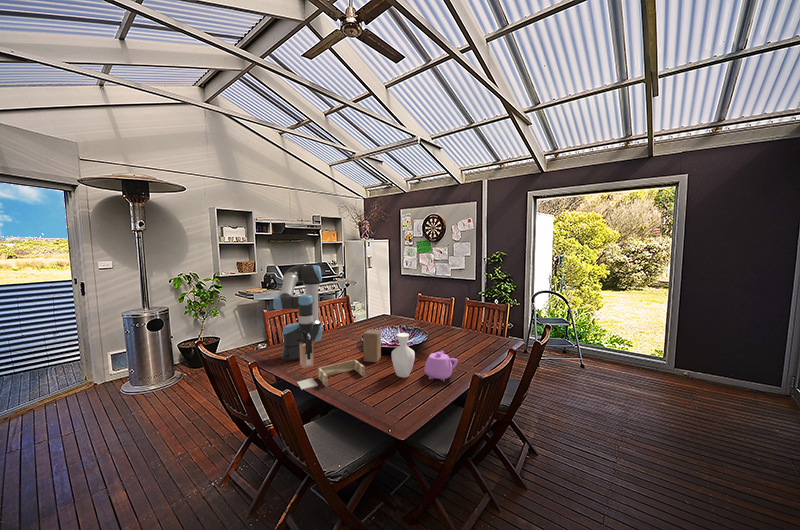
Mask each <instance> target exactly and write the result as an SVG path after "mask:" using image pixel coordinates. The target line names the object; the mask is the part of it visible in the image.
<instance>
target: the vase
mask: <svg viewBox="0 0 800 530" xmlns="http://www.w3.org/2000/svg"><path fill="white" fill-rule="evenodd" d="M396 336H397V339H398V343H399V345H398V346H397V347H395V348H394V349H393V350H392V351H391V361H392V365H393V368H394V372H395V375H396V376H397V377H399V378H408V377H409V376H410V374H411V372H412V370H413V368H414V363H415V356H416V355H415V354H416V353H415V350H413V348H410V347H409V346H408V345H407V344H408V343H409V337H410V334H409V333H407V332H399V333H397V334H396Z"/></svg>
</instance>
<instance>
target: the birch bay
mask: <svg viewBox="0 0 800 530" xmlns="http://www.w3.org/2000/svg"><path fill="white" fill-rule="evenodd" d="M349 371H355V372H357V373H358V374H359V375H361V377H363V378H364V377H366V366H365V365H363V364H362V363H360V362H359V361H358V360H357V359H354V358H353V359H351V360H346V361H343V362H341V361H340V362H338V363H333V364H329V365H324V366H320V367H317V378H318V379H319V381H320V382H321V383H322V385H323V386H324V387H325V388H326V387H328V385H329V383H328V382H329V381H328V379H329V378H328V377H329V376H335V375H337V374H341V373H345V372H346V373H347V372H349Z"/></svg>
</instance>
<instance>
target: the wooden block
mask: <svg viewBox="0 0 800 530" xmlns="http://www.w3.org/2000/svg"><path fill="white" fill-rule="evenodd" d="M381 334H382V333H381V330H380V329H369V328H368V329H367V330H366V331H364V332H363V335H362V336H363V337H362V338H363V343H362V345H363V347H362V348H363V350H362V351H363V362H365V363H378V362H379V361H380V359H381V357H382V356H381V355H382V351H381V350H382V346H381V345H382V344H381V343H382V341H381V339H382V335H381Z"/></svg>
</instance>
